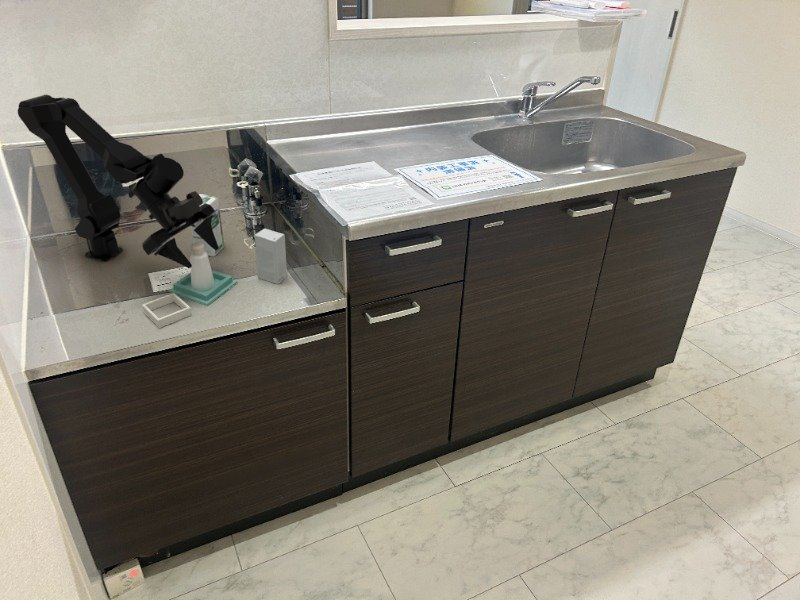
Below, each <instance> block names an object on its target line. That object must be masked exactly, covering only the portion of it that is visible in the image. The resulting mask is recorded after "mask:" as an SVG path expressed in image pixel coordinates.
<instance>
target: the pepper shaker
mask: <svg viewBox="0 0 800 600" xmlns="http://www.w3.org/2000/svg"><path fill="white" fill-rule="evenodd" d="M190 248H191V254H190V257H189V262H190V263H191V265H192V267H191V268H190V272H191V287H192V288H193V289H196V290H199V291H207V290H209V289H211V288H213V287H214V283H215V282H214V278H213V274H212V270H213V269H212V267H211V264H210V260H209V259H210V258H209V256H208V255H207V253H206V252H204V244H203V243H199V242H197V243H193V242H192V243H191V245H190Z"/></svg>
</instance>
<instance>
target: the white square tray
mask: <svg viewBox="0 0 800 600" xmlns="http://www.w3.org/2000/svg"><path fill="white" fill-rule="evenodd" d="M172 303H175V304H176V305H177V306H178V307H179V306H180V307H179V308H180V309H179V310H177V311H175V312H172V313H170V314H167V315H165V316H162V317H160V318H159V317H158V316H157V315H156V314H155V313H154V312H153V311H154V310H156V309H159V308H161V307H164V306H166V305H169V304H172ZM141 306H142V311H143V313H144V314H145V316H146V317H148V318H149V319H150V320H151V321H152V322H153V323H154V325H156V327H158V328H159V329H161V328H163V327H165V325H166V326H168V325H170V323H171V324H172V323H175V322H178V321H180V320H182V318H183V319H185V318H188V317H189V316H192V310H191V307H190V306H189V305H188V304H187V303H186V302H185V301H184V300H183V299H181V298H180V296H178V295H176V294H175V293H169V294H167V295H164V296H162V297H158V298H156V299H154V300H151V301H147V302H145V303H142V304H141ZM187 316H188V317H187ZM184 317H185V318H184ZM179 319H180V320H179ZM177 320H178V321H177Z"/></svg>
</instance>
